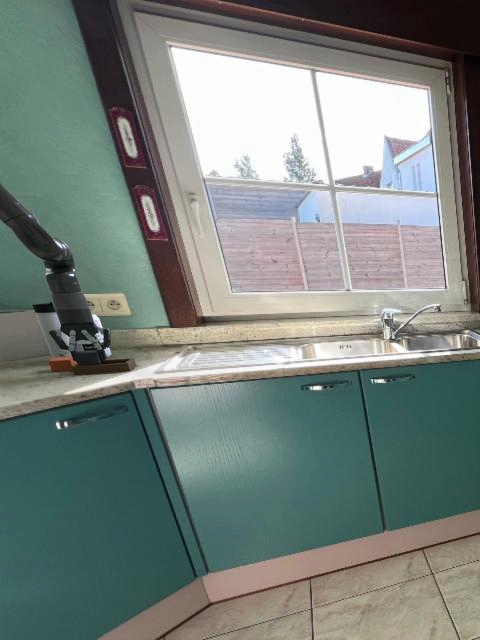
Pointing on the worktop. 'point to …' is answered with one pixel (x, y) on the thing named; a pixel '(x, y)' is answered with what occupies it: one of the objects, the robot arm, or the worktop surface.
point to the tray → (105, 366)
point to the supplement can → (86, 344)
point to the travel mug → (50, 328)
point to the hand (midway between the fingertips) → (91, 361)
